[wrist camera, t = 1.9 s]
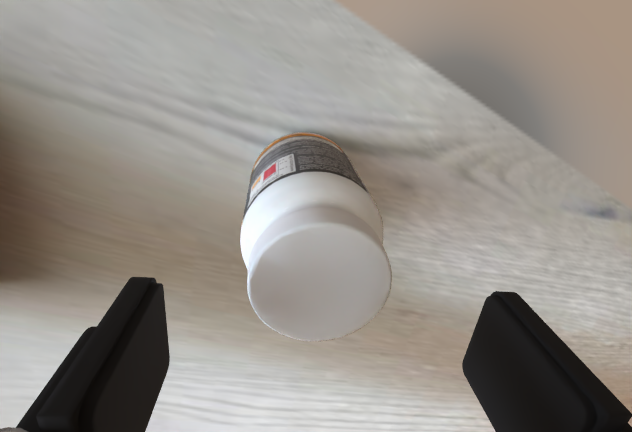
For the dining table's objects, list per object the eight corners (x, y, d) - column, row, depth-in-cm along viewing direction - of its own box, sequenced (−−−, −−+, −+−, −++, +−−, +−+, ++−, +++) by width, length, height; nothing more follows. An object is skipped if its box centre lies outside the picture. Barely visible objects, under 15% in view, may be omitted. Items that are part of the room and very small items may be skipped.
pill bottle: (230, 179, 20) (187, 290, 11) (305, 106, 18) (327, 165, 10) (300, 242, 22) (312, 378, 13) (373, 181, 21) (441, 286, 12)
